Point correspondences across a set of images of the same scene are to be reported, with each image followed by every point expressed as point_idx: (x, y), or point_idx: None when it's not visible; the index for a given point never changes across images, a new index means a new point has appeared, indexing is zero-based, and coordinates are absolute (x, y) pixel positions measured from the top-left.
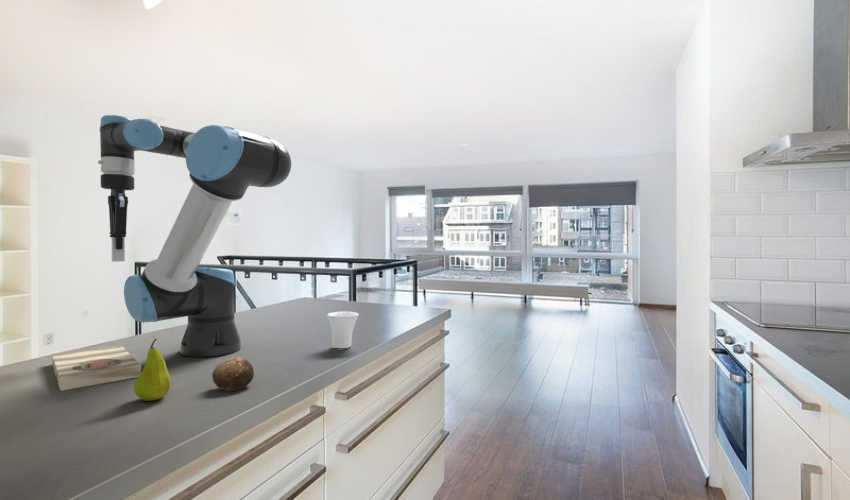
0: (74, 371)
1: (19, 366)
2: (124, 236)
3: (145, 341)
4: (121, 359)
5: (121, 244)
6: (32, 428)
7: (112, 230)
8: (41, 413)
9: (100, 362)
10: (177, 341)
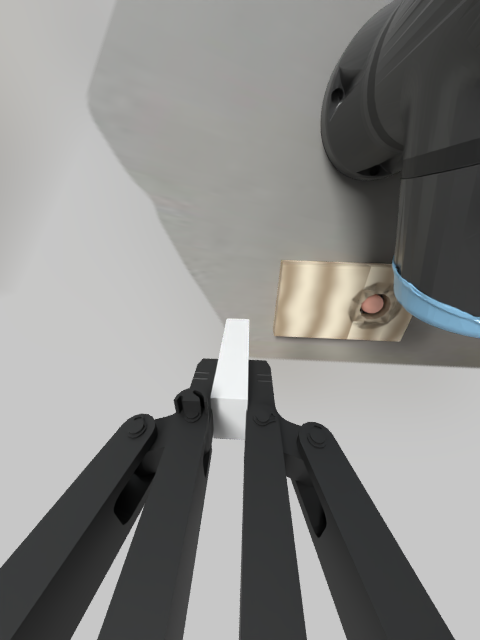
0: (383, 329)
1: (256, 350)
2: (273, 411)
3: (207, 206)
4: (377, 281)
5: (270, 381)
6: (474, 357)
7: (206, 485)
8: (444, 350)
9: (382, 306)
10: (246, 149)
